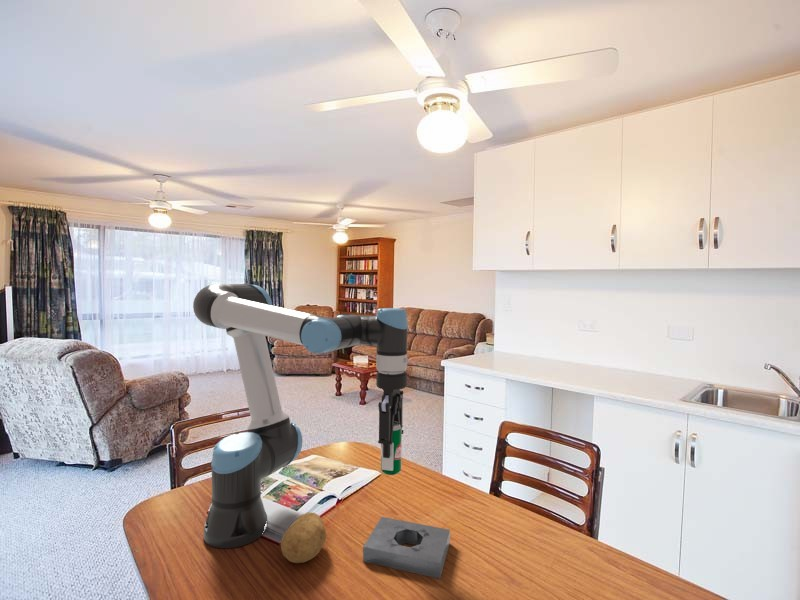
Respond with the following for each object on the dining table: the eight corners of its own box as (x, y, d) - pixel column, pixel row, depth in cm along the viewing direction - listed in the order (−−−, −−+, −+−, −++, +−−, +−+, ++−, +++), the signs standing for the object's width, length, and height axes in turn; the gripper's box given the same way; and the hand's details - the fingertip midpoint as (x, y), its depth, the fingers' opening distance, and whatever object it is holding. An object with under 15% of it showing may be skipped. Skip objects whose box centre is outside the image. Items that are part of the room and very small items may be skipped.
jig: (362, 561, 95) (363, 546, 95) (381, 529, 108) (381, 516, 108) (440, 578, 90) (440, 563, 90) (449, 543, 103) (450, 529, 103)
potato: (331, 537, 104) (331, 506, 104) (316, 577, 90) (317, 541, 90) (293, 535, 105) (293, 504, 104) (272, 574, 91) (273, 538, 90)
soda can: (399, 477, 100) (399, 427, 99) (378, 475, 100) (379, 426, 100) (402, 468, 105) (403, 420, 104) (383, 466, 105) (383, 419, 105)
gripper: (396, 379, 92) (395, 483, 93) (415, 365, 109) (414, 452, 110) (364, 377, 94) (363, 478, 95) (387, 363, 111) (387, 449, 112)
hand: (391, 464), depth 102 cm, fingers closed on soda can, 5 cm apart
